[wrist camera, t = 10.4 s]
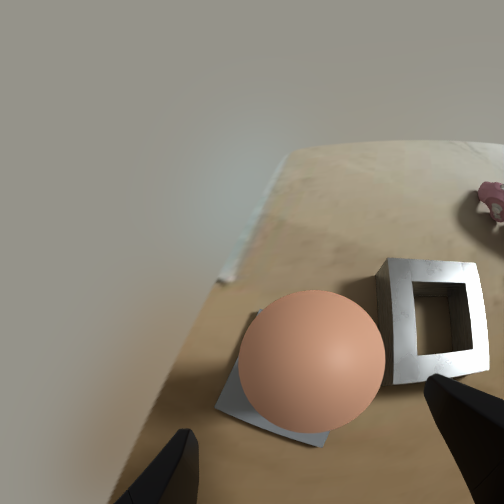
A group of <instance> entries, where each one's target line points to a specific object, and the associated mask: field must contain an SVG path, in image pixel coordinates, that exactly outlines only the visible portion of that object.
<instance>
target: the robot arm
mask: <svg viewBox="0 0 504 504" xmlns="http://www.w3.org/2000/svg"><path fill="white" fill-rule="evenodd" d="M424 397H425V399H426V401H427V404H428V406H429V409H430V411H431V413H432V416H433V418H434V421H435V423H436V425H437V427H438V429H439V431H440V433H441V434H442V436H443V438H444V440H445V442H446V444H447V446H448V448H449V449H450V451H451V453H452V455H453V457H454V459H455V461H456V463H457V465H458V467H459V469H460V471H461V473H462V476H463V478H464V480H465V482H466V484H467V486H468V488H469V491H470V493H471V496H472V498H473V500H474V502H475V504H504V400H503V399H500V398H498V397H495V396H493V395H490V394H487V393H485V392H482V391H480V390H477V389H475V388H472V387H470V386H467V385H465V384H462V383H460V382H458V381H455V380H453V379H450V378H448V377H446V376H443V375H441V374H438V373H435V374H433V375H431V376H429V377H428V378H427V381H426V384H425V388H424ZM198 485H199V446H198V441H197V439H196V437H195V435H194V433H193V432H192V430H191V429H189V428H185V429H179V430H178V431H177V432H176V434H175V435H174V436H173V437H172V438H171V440H170V441H169V442H168V443H167V444H166V446H165V447H164V448H163V449H162V450H161V452H160V453H159V454H158V455H157V456H156V458H155V459H154V460H153V461H152V462H151V463H150V465H149V466H148V467H147V468H146V469H145V470H144V471H143V473H142V474H141V475H140V476H139V477H138V478H137V479H136V480H135V482H134V483H133V484H132V485H131V486H130V487H129V488H128V490H126V491H125V493H124V494H123V495H122V496H121V497H120V498H119V499H118V500H117V501H116V502H115V503H114V504H196V503H197V493H198Z"/></svg>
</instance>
